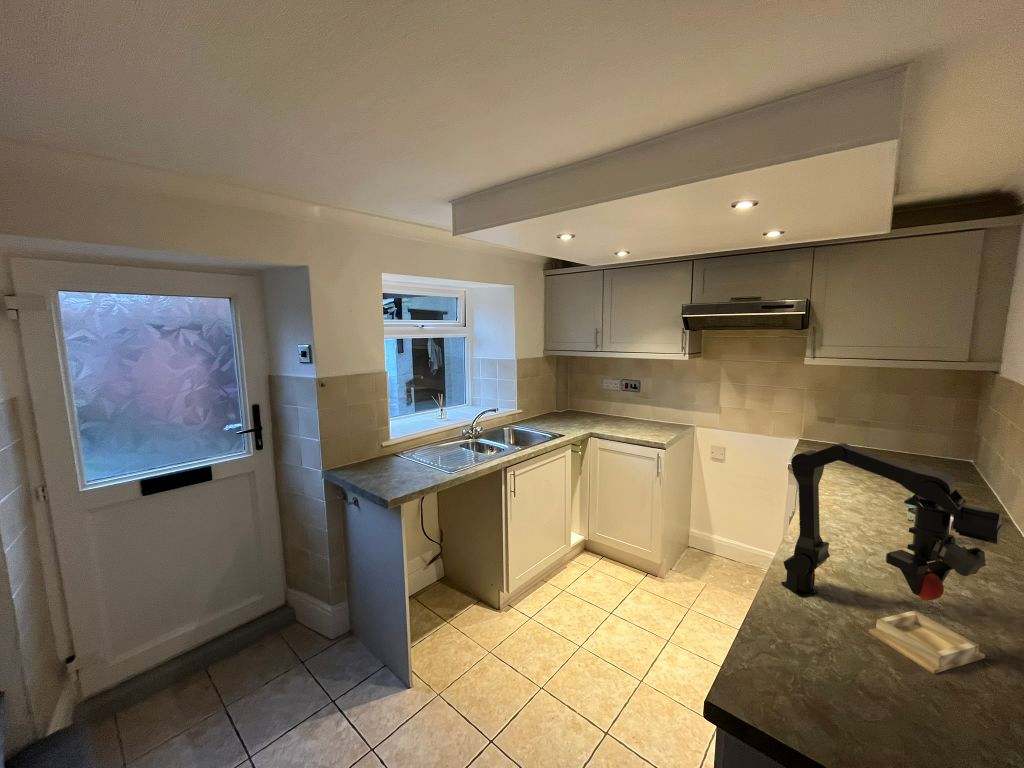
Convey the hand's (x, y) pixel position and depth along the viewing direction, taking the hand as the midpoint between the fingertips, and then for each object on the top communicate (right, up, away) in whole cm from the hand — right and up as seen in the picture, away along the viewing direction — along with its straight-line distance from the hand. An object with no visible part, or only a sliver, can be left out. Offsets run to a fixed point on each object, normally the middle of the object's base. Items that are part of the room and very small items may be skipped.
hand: (925, 591), depth 99 cm
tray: (0, -12, 0) cm, 12 cm away
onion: (0, -2, 0) cm, 2 cm away
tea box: (+64, -4, +65) cm, 92 cm away
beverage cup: (+52, -6, +49) cm, 72 cm away
